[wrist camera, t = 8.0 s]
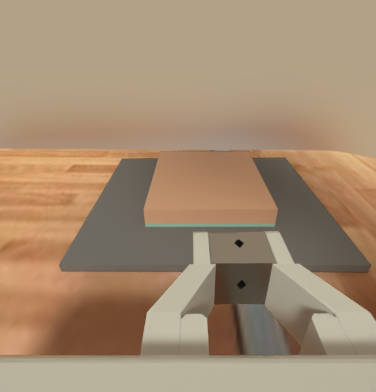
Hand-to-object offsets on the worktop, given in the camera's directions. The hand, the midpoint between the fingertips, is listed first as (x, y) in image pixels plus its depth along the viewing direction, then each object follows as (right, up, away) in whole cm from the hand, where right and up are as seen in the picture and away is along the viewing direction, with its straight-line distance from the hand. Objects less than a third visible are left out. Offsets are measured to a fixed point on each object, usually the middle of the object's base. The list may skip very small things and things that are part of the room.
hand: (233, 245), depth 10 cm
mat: (0, +1, +16) cm, 16 cm away
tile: (0, 0, +11) cm, 11 cm away
